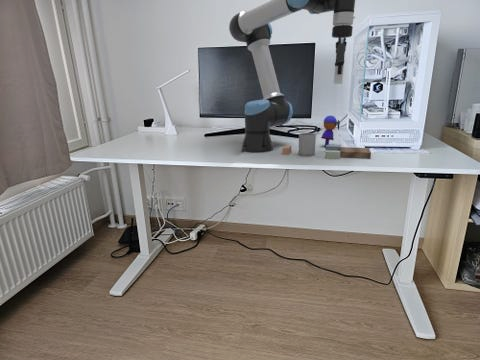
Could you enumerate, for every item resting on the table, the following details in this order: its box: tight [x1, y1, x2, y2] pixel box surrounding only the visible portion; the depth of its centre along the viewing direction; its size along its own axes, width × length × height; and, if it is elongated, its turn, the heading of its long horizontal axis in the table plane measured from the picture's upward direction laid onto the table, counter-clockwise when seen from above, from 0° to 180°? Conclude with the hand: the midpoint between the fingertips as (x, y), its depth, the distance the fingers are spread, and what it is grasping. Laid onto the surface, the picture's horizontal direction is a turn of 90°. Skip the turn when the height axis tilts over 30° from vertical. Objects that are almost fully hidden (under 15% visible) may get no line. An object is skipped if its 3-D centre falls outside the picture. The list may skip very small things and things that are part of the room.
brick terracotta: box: [281, 145, 292, 156], centre depth 142 cm, size 6×3×3 cm, turn 162°
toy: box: [320, 115, 341, 148], centre depth 153 cm, size 11×8×15 cm
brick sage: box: [324, 149, 341, 160], centre depth 131 cm, size 6×3×3 cm, turn 75°
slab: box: [340, 146, 372, 160], centre depth 134 cm, size 12×10×2 cm
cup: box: [298, 132, 317, 157], centre depth 139 cm, size 7×10×9 cm
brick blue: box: [325, 144, 341, 151], centre depth 142 cm, size 6×3×3 cm, turn 72°
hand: (337, 83), depth 128 cm, fingers open, 13 cm apart
